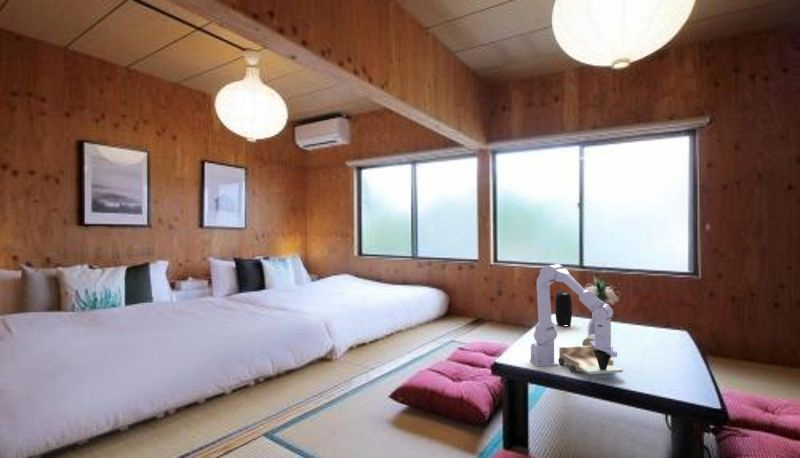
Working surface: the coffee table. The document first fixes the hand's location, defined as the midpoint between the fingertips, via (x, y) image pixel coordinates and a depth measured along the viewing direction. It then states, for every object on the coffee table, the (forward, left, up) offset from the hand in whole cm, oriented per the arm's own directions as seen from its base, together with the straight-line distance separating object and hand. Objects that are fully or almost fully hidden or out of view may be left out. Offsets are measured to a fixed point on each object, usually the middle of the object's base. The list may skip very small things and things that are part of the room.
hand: (602, 369), depth 161 cm
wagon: (0, +12, -4) cm, 13 cm away
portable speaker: (+28, +80, -4) cm, 85 cm away
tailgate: (0, +4, -1) cm, 4 cm away
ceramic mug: (+17, +31, -4) cm, 35 cm away
